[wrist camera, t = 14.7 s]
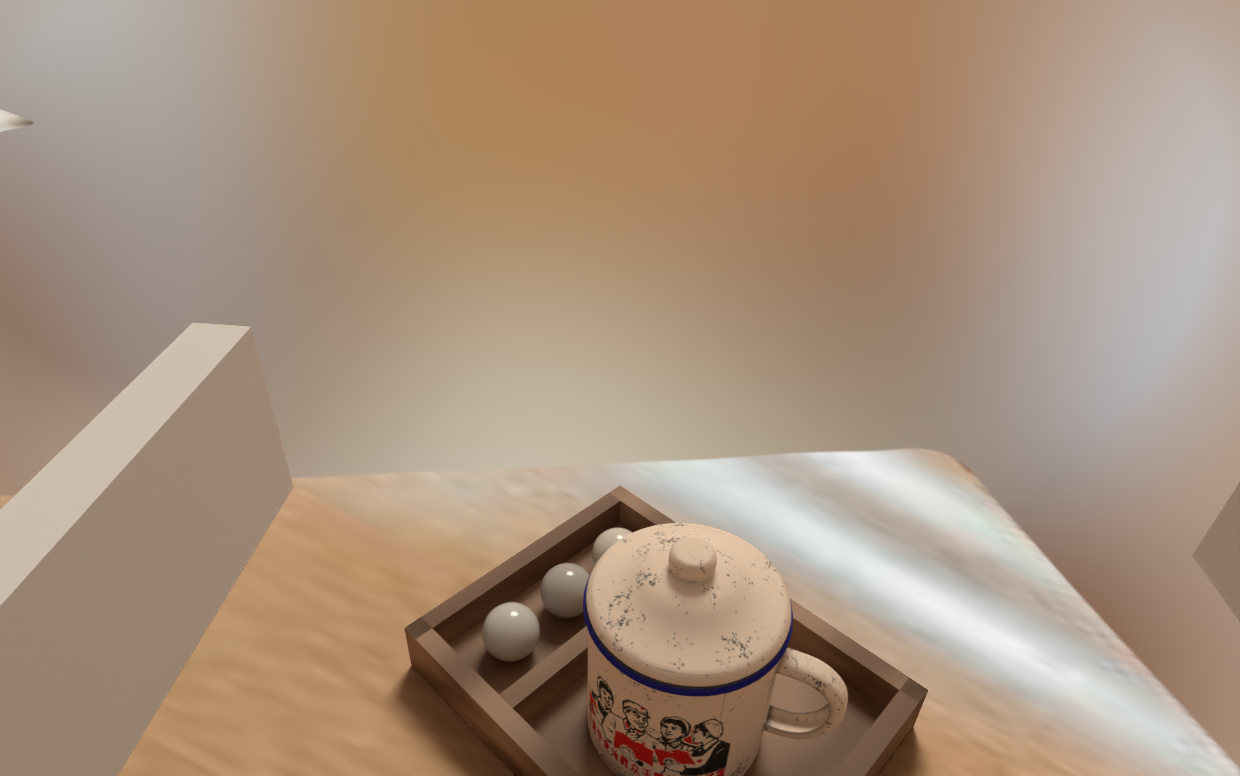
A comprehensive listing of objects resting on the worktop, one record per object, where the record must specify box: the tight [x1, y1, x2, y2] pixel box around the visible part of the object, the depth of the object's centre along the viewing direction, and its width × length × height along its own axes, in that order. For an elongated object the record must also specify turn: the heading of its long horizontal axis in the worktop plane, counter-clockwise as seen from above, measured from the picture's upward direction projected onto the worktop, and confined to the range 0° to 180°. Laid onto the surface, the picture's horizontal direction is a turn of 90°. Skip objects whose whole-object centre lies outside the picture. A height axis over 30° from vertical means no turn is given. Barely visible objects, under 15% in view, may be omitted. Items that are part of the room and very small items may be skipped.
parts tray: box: [405, 486, 928, 776], centre depth 40 cm, size 21×16×3 cm
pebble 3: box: [592, 528, 633, 565], centre depth 46 cm, size 3×3×3 cm
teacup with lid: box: [583, 523, 848, 776], centre depth 35 cm, size 12×9×12 cm
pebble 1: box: [482, 602, 540, 662], centre depth 41 cm, size 3×3×3 cm
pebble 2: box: [540, 563, 590, 619], centre depth 44 cm, size 3×3×3 cm
